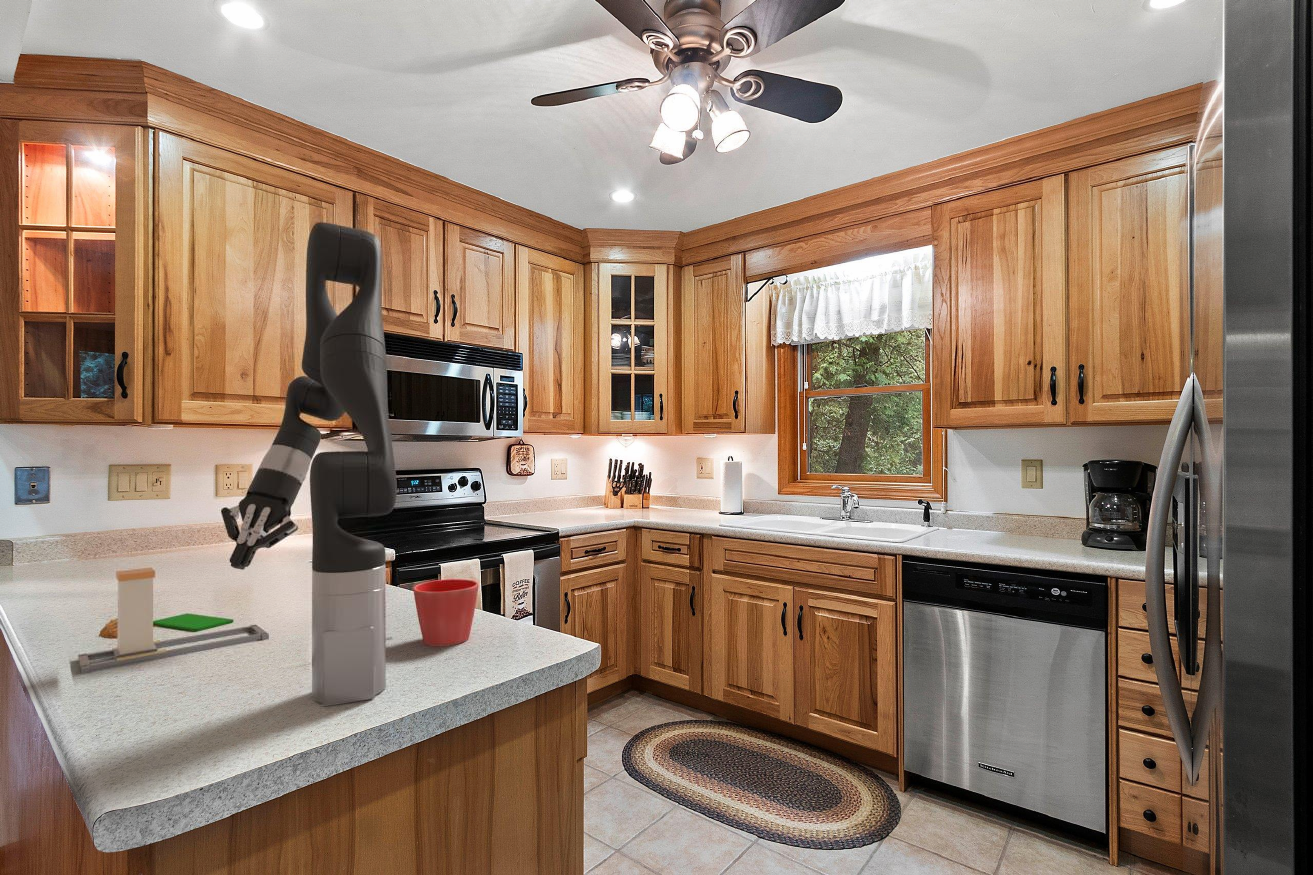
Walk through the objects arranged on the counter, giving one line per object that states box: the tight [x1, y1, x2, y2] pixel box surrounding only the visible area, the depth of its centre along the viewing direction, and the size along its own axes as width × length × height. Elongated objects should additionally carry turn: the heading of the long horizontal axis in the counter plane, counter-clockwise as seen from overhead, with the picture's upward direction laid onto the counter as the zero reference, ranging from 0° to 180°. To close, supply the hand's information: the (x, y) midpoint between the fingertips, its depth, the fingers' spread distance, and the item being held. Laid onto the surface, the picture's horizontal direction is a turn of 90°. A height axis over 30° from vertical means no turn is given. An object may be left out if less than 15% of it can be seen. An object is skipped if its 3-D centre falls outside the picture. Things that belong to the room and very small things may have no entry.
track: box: [77, 624, 270, 675], centre depth 105 cm, size 24×9×2 cm, turn 134°
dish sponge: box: [153, 613, 235, 632], centre depth 121 cm, size 7×14×2 cm, turn 67°
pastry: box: [98, 617, 118, 640], centre depth 116 cm, size 9×7×4 cm
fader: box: [112, 567, 158, 660], centre depth 102 cm, size 5×5×13 cm
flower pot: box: [412, 578, 480, 647], centre depth 114 cm, size 11×11×10 cm
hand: (237, 567), depth 109 cm, fingers closed
